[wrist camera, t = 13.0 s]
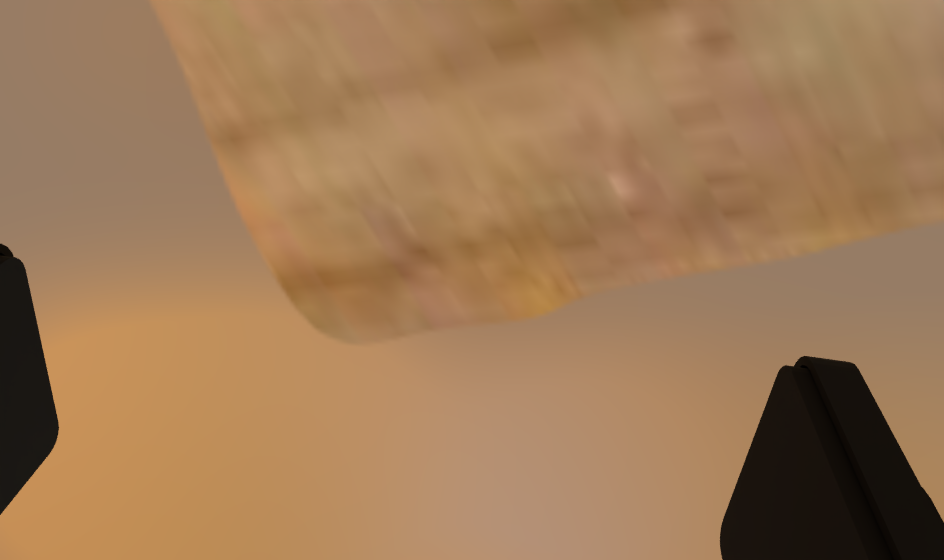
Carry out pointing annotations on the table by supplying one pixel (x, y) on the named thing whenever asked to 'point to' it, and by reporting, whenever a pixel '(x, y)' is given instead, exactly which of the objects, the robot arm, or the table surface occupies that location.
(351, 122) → the table surface
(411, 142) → the table surface
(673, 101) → the table surface
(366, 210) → the table surface
